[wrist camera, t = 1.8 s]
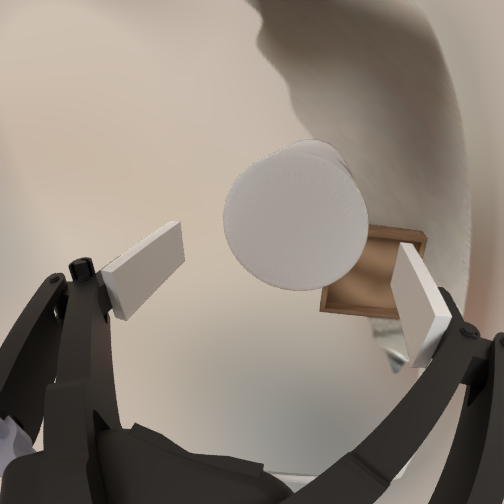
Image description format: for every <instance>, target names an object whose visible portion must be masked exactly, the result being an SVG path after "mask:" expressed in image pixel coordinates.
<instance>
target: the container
mask: <svg viewBox="0 0 504 504" xmlns="http://www.w3.org/2000/svg"><path fill="white" fill-rule="evenodd" d="M223 225H224V232H225V236H226V239H227V242H228V245H229V247H230V249H231V251H232V252H233V254H234V256H235V257H236V259H237V260H238V261H239V263H240V264H241V265H242V266H243V267H244V268H245V269H246V270H247V271H248V272H249V273H251V274H252V275H253V276H255V277H256V278H258V279H259V280H261V281H263V282H265V283H267V284H269V285H272V286H274V287H278V288H281V289H286V290H293V291H306V290H313V289H318V288H321V287H324V286H327V285H329V284H332V283H334V282H335V281H337V280H339V279H340V278H342V277H343V276H344V275H345V274H347V273H348V272H349V271H350V270H351V269H352V268H353V266H354V265H355V264H356V262H357V261H358V259H359V258H360V256H361V254H362V252H363V250H364V247H365V244H366V241H367V236H368V214H367V209H366V206H365V202H364V200H363V197H362V195H361V193H360V191H359V189H358V187H357V185H356V182H355V180H354V178H353V176H352V174H351V172H350V170H349V168H348V166H347V164H346V162H345V160H344V159H343V157H342V156H341V154H340V153H339V152H338V151H337V150H336V149H335V148H334V147H332V146H331V145H329V144H327V143H325V142H322V141H319V140H311V139H309V140H302V141H298V142H296V143H293V144H291V145H289V146H287V147H285V148H283V149H281V150H279V151H277V152H274V153H272V154H270V155H268V156H266V157H264V158H262V159H260V160H259V161H257V162H255V163H253V164H252V165H250V166H249V167H248V168H246V169H245V170H244V171H243V172H242V173H241V174H240V175H239V176H238V177H237V179H236V180H235V181H234V183H233V185H232V186H231V188H230V190H229V192H228V195H227V197H226V200H225V205H224V210H223Z"/></svg>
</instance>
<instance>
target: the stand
mask: <svg viewBox="0 0 504 504" xmlns="http://www.w3.org/2000/svg"><path fill="white" fill-rule="evenodd" d="M400 242H402V243H410V244H413V246H414V247H415V249H416V251H417V252H418V254H419V256H420V257H421V259H422V258H423V254H424V250H425V246H426V242H427V237H426V235H425V234H424V233H423V232H422V231H416V230H409V229H402V228H394V227H386V226H378V225H370V224H368V236H367V241H366V244H365V247H364V250H363V252H362V254H361V256H360V258H359V259H358V261H357V262H356V264H355V265H354V266H353V268H352V269H351V270H350V271H349V272H348V273H347V274H345V275H344V276H343V277H342V278H340V279H339V280H337V281H335V282H334V283H332V284H329V285H327V286H324V287H323V289H322V296H321V302H320V312H328V313H337V314H347V315H357V316H367V317H379V318H391V319H400V317H399V313H398V309H397V306H396V302H395V299H394V295H393V292H392V289H391V285H390V284H391V280H392V276H393V272H394V268H395V264H396V259H397V255H398V250H399V246H400Z"/></svg>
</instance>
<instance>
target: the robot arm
mask: <svg viewBox="0 0 504 504" xmlns="http://www.w3.org/2000/svg"><path fill="white" fill-rule="evenodd" d="M184 261H185V257H184V249H183V241H182V232H181V223H180V222H178V221H169V222H168V223H166V224H165V225H163V226H162V227H160V228H159V229H157V230H156V231H154V232H153V233H152V234H150V235H149V236H147V237H146V238H144V239H143V240H142V241H140V242H139V243H137V244H136V245H134V246H133V247H131V248H130V249H129V250H127V251H126V252H124V253H123V254H122V255H120V256H118V257H117V258H116V259H114V260H113V261H112V262H110V263H109V264H108V265H106V266H105V267H103V268H102V269H101V270H99V271H98V272H97V273H95V270H94V266H93V263H92V259H91V258H87V257H84V258H80V259H77V260H75V261H73V262H72V263H70V264H69V270H70V273H71V276H72V279H73V281H72V282H66V279H65V276H64V274H63V273H54V274H52V275H50V276H49V277H47V278H46V279H45V281H44V282H43V283H42V285H41V286H40V287H39V289H38V290H37V291H36V293H35V294H34V296H33V297H32V298H31V300H30V301H29V303H28V304H27V306H26V307H25V309H24V310H23V312H22V313H21V315H20V316H19V318H18V319H17V321H16V323H15V324H14V326H13V327H12V329H11V331H10V332H9V334H8V336H7V337H6V339H5V341H4V342H3V344H2V346H1V348H0V477H1V478H2V484H1V492H0V504H373V503H374V502H375V501H376V500H377V499H378V498H379V497H380V496H381V495H382V494H383V493H384V492H385V490H386V489H387V488H388V487H389V486H390V482H391V481H392V480H393V478H394V477H395V476H396V475H397V474H398V473H399V472H400V470H401V469H402V468H403V467H404V466H405V464H406V463H407V462H408V461H409V460H410V458H411V457H412V456H413V454H414V453H415V452H416V451H417V449H418V448H419V447H420V445H421V444H422V443H423V441H424V440H425V438H426V437H427V436H428V434H429V433H430V431H431V430H432V428H433V427H434V425H435V424H436V422H437V421H438V419H439V418H440V416H441V415H442V413H443V411H444V410H445V408H446V406H447V405H448V403H449V401H450V400H451V398H452V396H453V394H454V393H455V391H456V389H457V387H458V385H459V383H462V384H465V385H467V386H466V392H465V397H464V402H463V406H462V410H461V415H460V418H459V422H458V426H457V430H456V433H455V437H454V440H453V443H452V446H451V449H450V452H449V455H448V458H447V461H446V464H445V466H444V469H443V472H442V474H441V476H440V479H439V481H438V483H437V486H436V488H435V491H434V493H433V495H432V497H431V499H430V501H429V503H428V504H502V502H503V499H504V333H503V332H500V333H497V335H495V337H494V339H493V341H491V340H487V339H483V338H481V337H480V333H479V331H478V329H477V328H476V327H475V326H473V325H472V324H470V323H467V322H464V320H463V318H462V316H461V314H460V312H459V310H458V308H457V307H456V304H455V302H454V301H453V299H452V297H451V295H450V293H449V292H447V291H446V290H445V289H444V288H443V287H437V286H436V284H435V282H434V280H433V278H432V277H431V275H430V273H429V271H428V269H427V268H426V266H425V264H424V262H423V261H422V259H421V257H420V256H419V254H418V252H417V251H416V249H415V247H414V246H413V244H410V243H402V242H400V246H399V250H398V255H397V259H396V264H395V268H394V272H393V276H392V280H391V284H390V285H391V289H392V292H393V295H394V299H395V302H396V306H397V309H398V313H399V317H400V321H401V325H402V329H403V333H404V337H405V341H406V346H407V350H408V355H409V359H410V364H411V368H426V370H425V371H424V372H423V374H422V375H421V376H420V378H419V379H418V380H417V382H416V383H415V384H414V385H413V387H412V388H411V389H410V391H409V392H408V393H407V394H406V396H405V397H404V398H403V399H402V400H401V401H400V403H399V404H398V405H397V406H396V407H395V408H394V409H393V411H392V412H391V413H390V414H389V415H388V416H387V417H386V418H385V419H384V420H383V421H382V423H381V424H380V425H379V426H378V427H377V428H376V429H375V430H374V431H373V432H372V433H371V434H370V435H369V436H368V437H367V438H366V439H365V440H364V441H363V442H361V444H359V445H358V446H357V447H356V448H355V449H354V450H353V451H351V452H348V453H347V454H346V455H344V456H343V457H342V458H341V459H339V460H338V461H337V462H336V463H335V464H333V465H332V466H331V467H330V468H328V469H327V470H326V471H325V472H323V473H322V474H321V475H319V476H318V477H317V478H315V479H314V480H313V481H311V482H310V483H309V484H307V485H306V486H305V487H303V488H302V489H300V490H299V491H297V492H296V493H293V492H292V490H291V489H290V488H289V487H288V486H287V485H286V484H285V483H283V482H282V481H281V480H279V479H278V478H276V477H274V476H273V475H271V474H269V473H266V472H264V471H263V467H264V464H261V463H256V462H251V461H247V460H242V459H238V458H234V457H230V456H217V455H204V454H194V453H189V452H188V451H186V450H184V449H183V448H181V447H180V446H178V445H177V444H175V443H174V442H172V441H171V440H169V439H168V438H167V437H165V436H164V435H162V434H160V433H158V432H155V431H153V430H150V429H148V428H146V427H143V426H141V425H139V424H137V423H134V425H133V426H132V428H131V429H122V426H121V424H120V420H119V413H118V407H117V400H116V393H115V384H114V375H113V364H112V351H111V332H110V317H109V314H108V312H109V311H110V310H111V309H113V312H114V315H115V317H116V318H119V319H122V320H125V321H127V320H128V319H129V318H130V317H131V316H132V315H133V314H134V313H135V312H136V311H137V310H138V308H139V307H140V306H141V305H142V304H143V303H144V302H145V301H146V300H147V299H148V298H149V297H150V296H151V295H152V294H153V293H154V292H155V291H156V290H157V289H158V288H159V287H160V286H161V285H162V284H163V283H164V282H165V280H167V279H168V277H170V276H171V275H172V273H173V272H174V271H175V270H176V269H177V268H178V267H179V266H180V265H181V264H182V263H183V262H184ZM54 310H55V312H56V314H57V315H56V317H55V314H54ZM431 359H433V360H432V361H431ZM430 361H431V363H430V364H429V362H430ZM428 364H429V366H428ZM427 366H428V367H427ZM55 378H56V383H54V381H55ZM43 417H44V427H43V428H44V429H43V430H44V431H43V444H44V450H43V451H39V452H36V451H35V450H34V449H33V448H32V446H33V445H34V443H35V441H36V438H37V436H38V433H39V431H40V427H41V424H42V421H43Z"/></svg>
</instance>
